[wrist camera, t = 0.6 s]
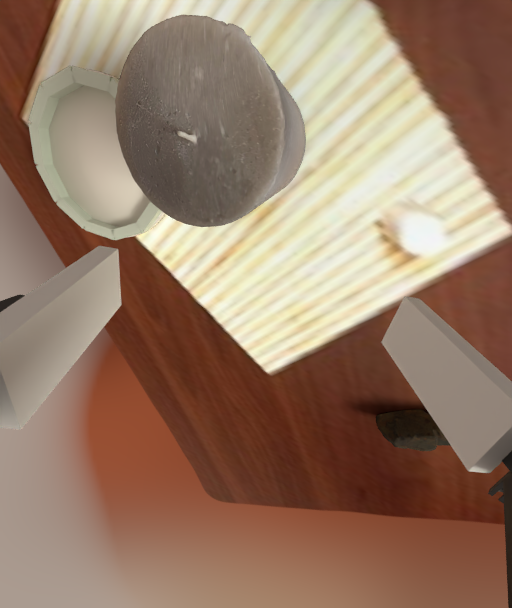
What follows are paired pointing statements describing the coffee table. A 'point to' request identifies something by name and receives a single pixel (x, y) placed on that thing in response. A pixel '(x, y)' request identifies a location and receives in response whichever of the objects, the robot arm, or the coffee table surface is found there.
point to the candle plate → (87, 155)
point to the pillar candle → (205, 122)
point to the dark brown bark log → (411, 430)
